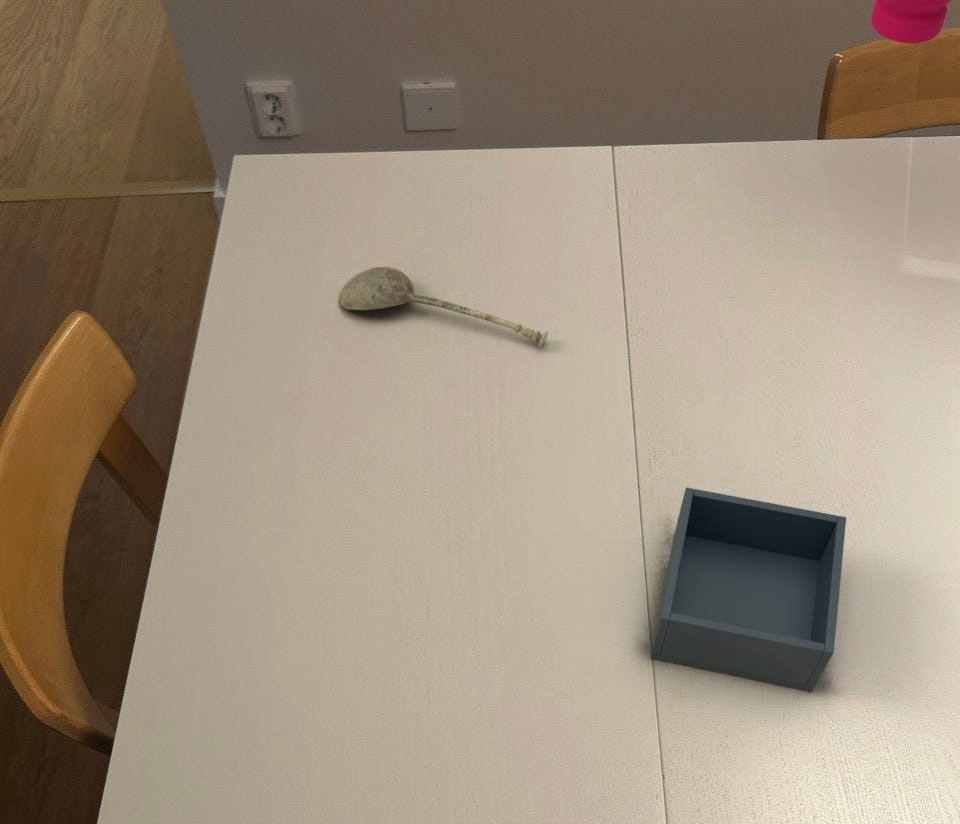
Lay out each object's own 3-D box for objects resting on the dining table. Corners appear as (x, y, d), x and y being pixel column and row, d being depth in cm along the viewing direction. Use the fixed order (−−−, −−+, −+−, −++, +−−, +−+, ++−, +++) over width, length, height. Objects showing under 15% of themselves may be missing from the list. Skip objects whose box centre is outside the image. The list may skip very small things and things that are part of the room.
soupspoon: (358, 273, 110) (330, 317, 107) (352, 247, 107) (323, 292, 104) (557, 324, 105) (533, 371, 102) (557, 298, 102) (532, 346, 99)
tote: (825, 561, 90) (846, 516, 85) (811, 692, 84) (833, 653, 78) (674, 532, 92) (685, 486, 87) (650, 658, 86) (660, 617, 80)
